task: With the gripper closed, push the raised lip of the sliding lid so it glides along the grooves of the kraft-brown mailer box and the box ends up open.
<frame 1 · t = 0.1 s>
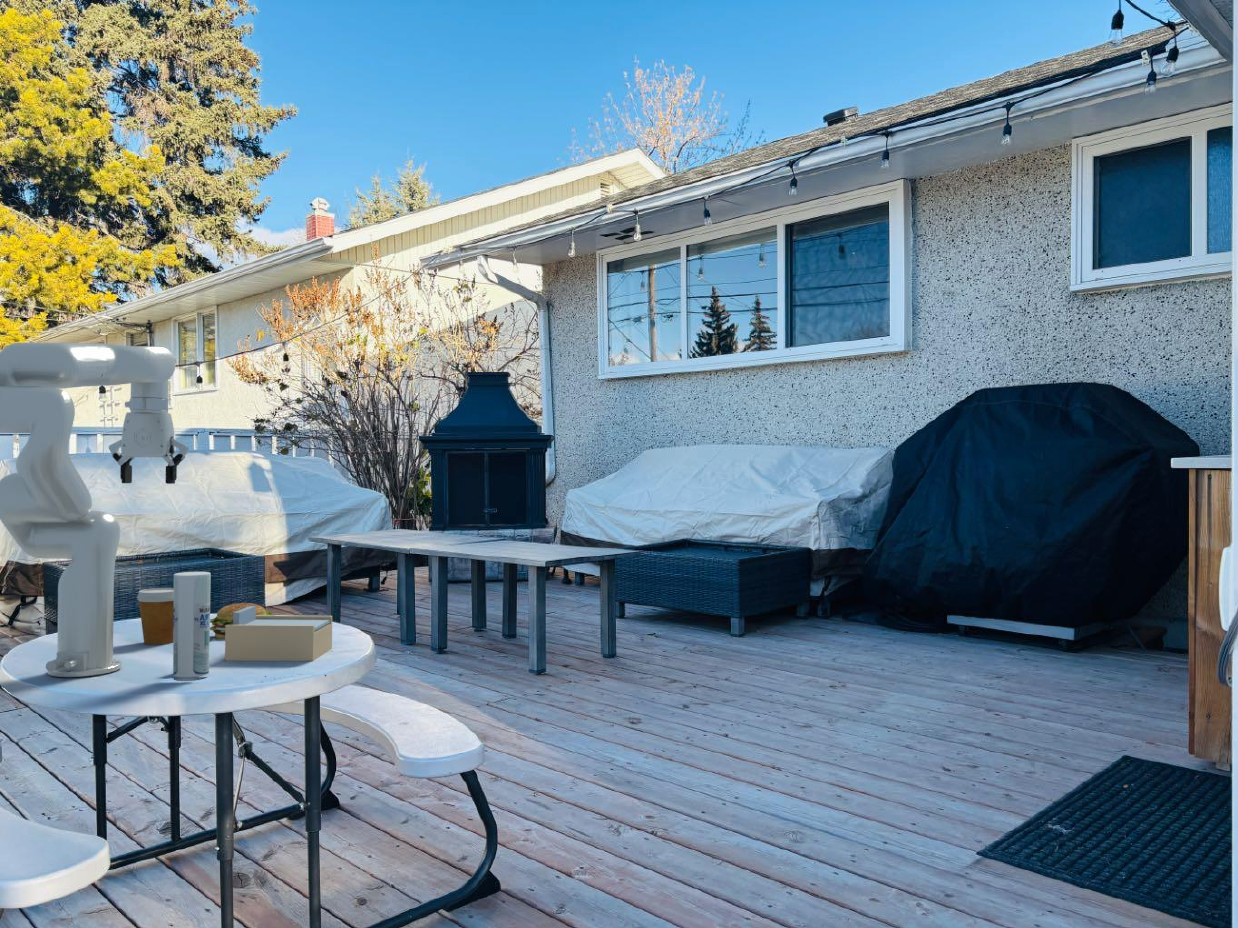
hand: (148, 483, 204), 37 cm above the table, tool pointing down, fingers open, 9 cm apart
mailer box: (280, 658, 194), on the table
spray can: (191, 678, 176), on the table
lid: (280, 618, 194), point 8 cm above the table, slide at 0.0 cm
food: (243, 637, 219), on the table
disposable coffee cup: (159, 643, 210), on the table
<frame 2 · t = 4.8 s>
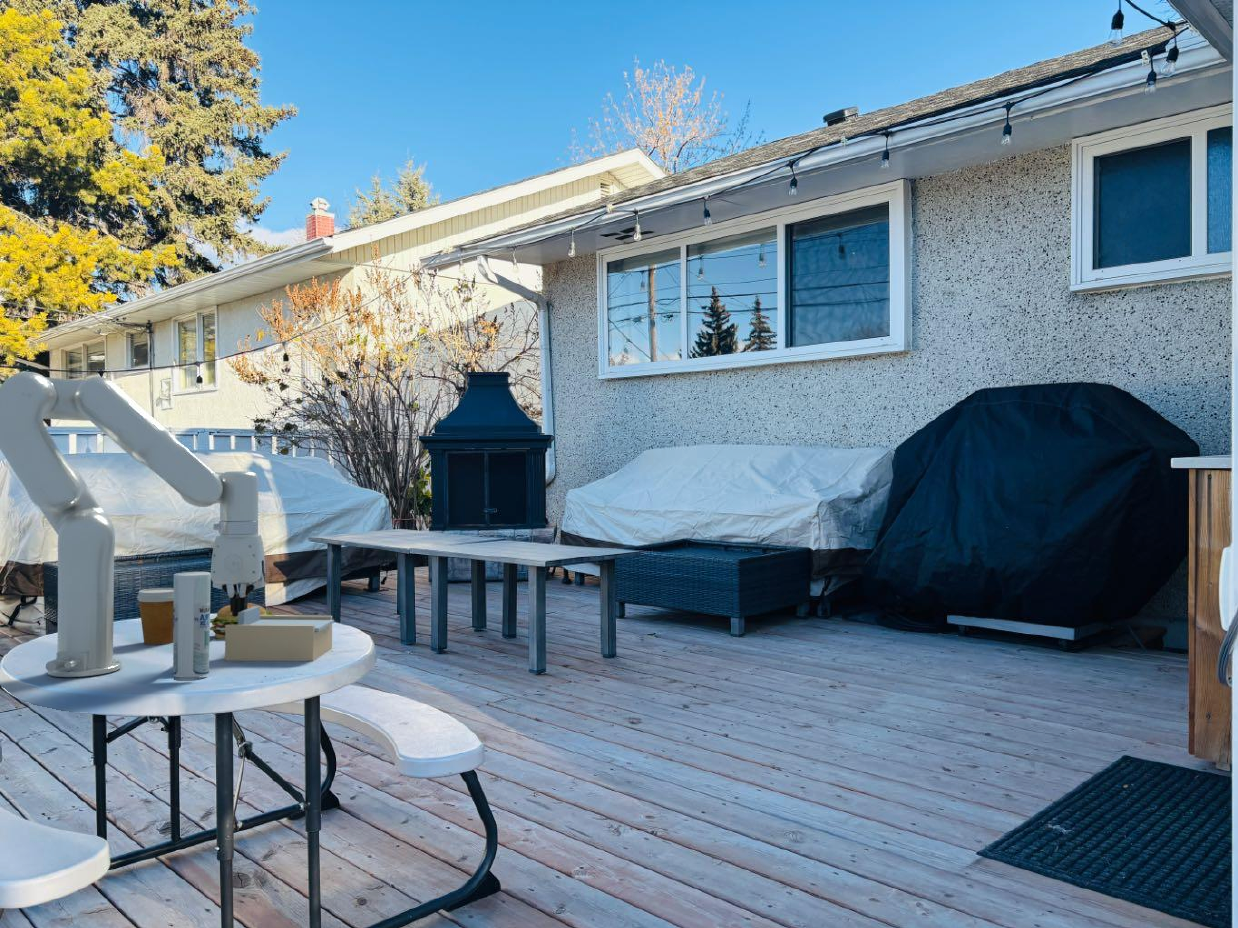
hand: (238, 615, 194), 9 cm above the table, tool pointing down, fingers closed
lid: (285, 618, 194), point 8 cm above the table, slide at 1.0 cm, touching gripper
everything else where it was.
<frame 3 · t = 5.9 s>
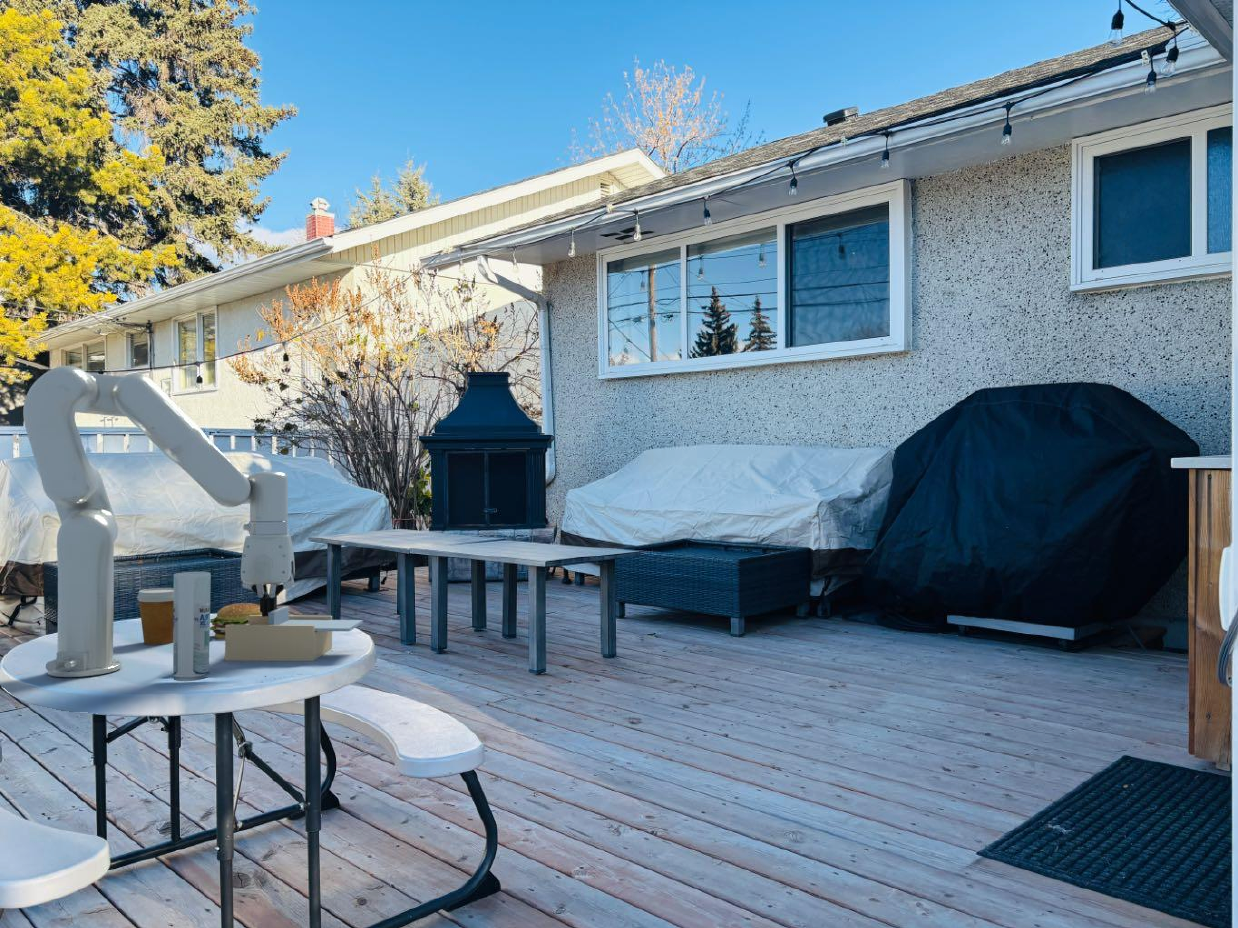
hand: (268, 615, 195), 9 cm above the table, tool pointing down, fingers closed
lid: (314, 618, 195), point 8 cm above the table, slide at 7.2 cm, touching gripper
everything else where it was.
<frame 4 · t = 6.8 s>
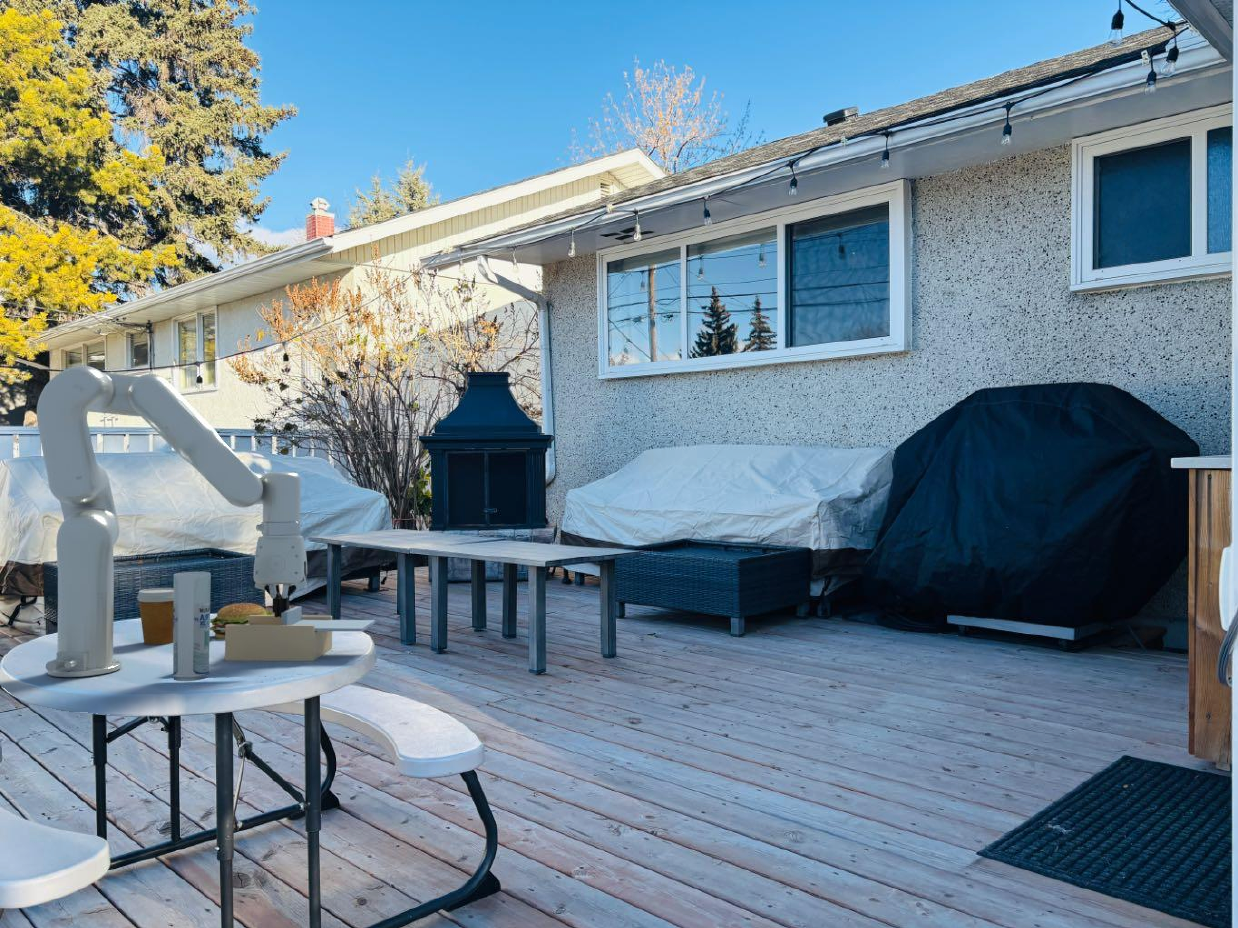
hand: (280, 616, 195), 9 cm above the table, tool pointing down, fingers closed
lid: (327, 618, 195), point 8 cm above the table, slide at 9.9 cm, touching gripper
everything else where it was.
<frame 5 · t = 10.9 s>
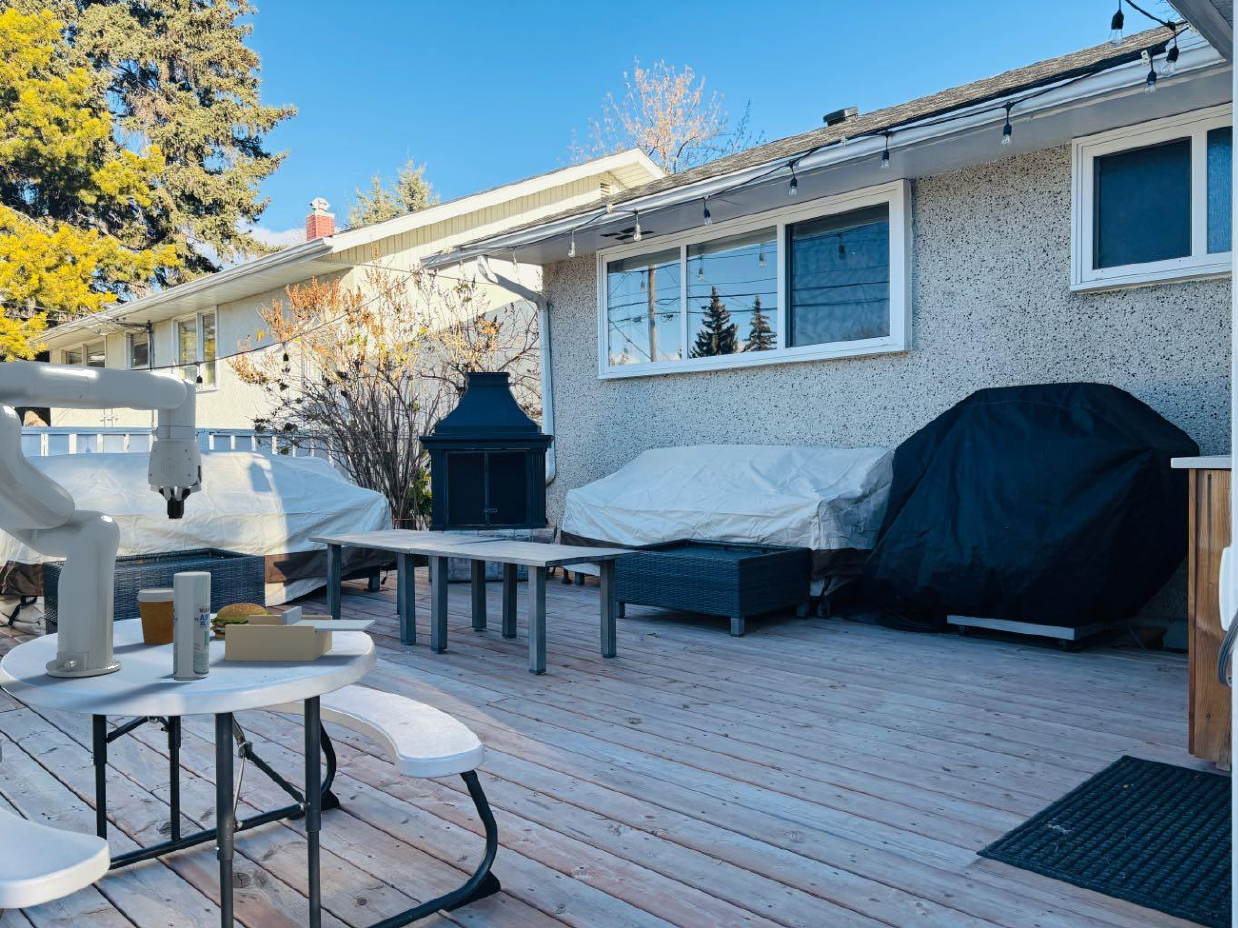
hand: (175, 518, 201), 29 cm above the table, tool pointing down, fingers closed
lid: (327, 618, 195), point 8 cm above the table, slide at 10.0 cm
everything else where it was.
at the end: lid slide at 10.0 cm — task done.
